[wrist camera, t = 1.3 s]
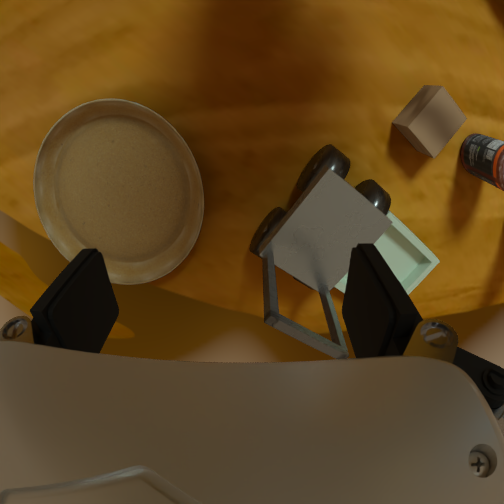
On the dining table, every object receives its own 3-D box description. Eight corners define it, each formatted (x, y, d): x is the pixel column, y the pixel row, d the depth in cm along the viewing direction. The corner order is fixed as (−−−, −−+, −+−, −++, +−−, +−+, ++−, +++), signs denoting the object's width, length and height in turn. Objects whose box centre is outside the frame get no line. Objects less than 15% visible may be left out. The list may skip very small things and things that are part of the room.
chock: (423, 85, 28) (442, 86, 24) (446, 114, 30) (466, 118, 26) (391, 122, 31) (407, 126, 27) (416, 150, 33) (434, 158, 29)
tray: (382, 204, 36) (389, 211, 34) (432, 252, 39) (440, 261, 37) (323, 271, 41) (326, 281, 39) (378, 308, 44) (383, 318, 42)
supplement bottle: (488, 171, 33) (539, 200, 23) (459, 175, 33) (511, 206, 24) (487, 131, 30) (542, 151, 20) (457, 133, 31) (514, 153, 21)
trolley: (325, 140, 32) (384, 182, 17) (379, 186, 35) (455, 256, 19) (249, 236, 38) (244, 337, 23) (304, 271, 41) (328, 375, 25)
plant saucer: (46, 247, 40) (35, 258, 37) (55, 89, 29) (40, 91, 26) (187, 291, 43) (183, 305, 40) (231, 119, 32) (229, 122, 29)
